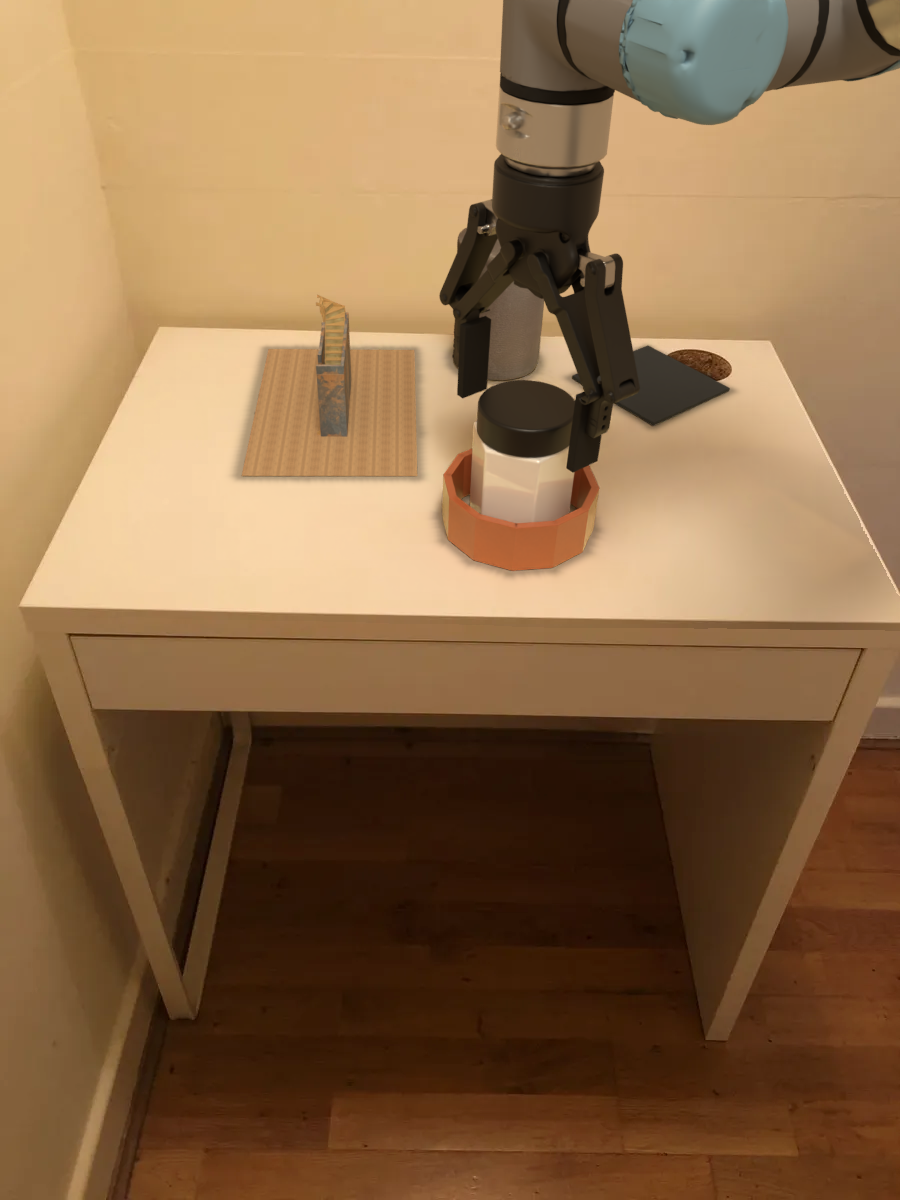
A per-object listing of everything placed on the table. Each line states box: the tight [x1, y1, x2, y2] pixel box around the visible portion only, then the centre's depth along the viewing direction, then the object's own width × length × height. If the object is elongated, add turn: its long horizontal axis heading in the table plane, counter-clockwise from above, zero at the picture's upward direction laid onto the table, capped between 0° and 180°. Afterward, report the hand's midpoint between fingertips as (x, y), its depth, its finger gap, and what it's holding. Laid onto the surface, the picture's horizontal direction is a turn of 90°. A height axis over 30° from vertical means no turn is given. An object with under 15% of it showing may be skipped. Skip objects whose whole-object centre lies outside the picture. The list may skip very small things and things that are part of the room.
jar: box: [469, 379, 575, 523], centre depth 83 cm, size 9×8×12 cm
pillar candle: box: [451, 227, 545, 381], centre depth 104 cm, size 10×10×15 cm
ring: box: [441, 447, 601, 572], centre depth 86 cm, size 13×13×4 cm
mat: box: [571, 345, 731, 426], centre depth 106 cm, size 12×12×1 cm
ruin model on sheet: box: [241, 294, 418, 477], centre depth 98 cm, size 25×16×10 cm, turn 2°
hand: (524, 427), depth 81 cm, fingers open, 13 cm apart
